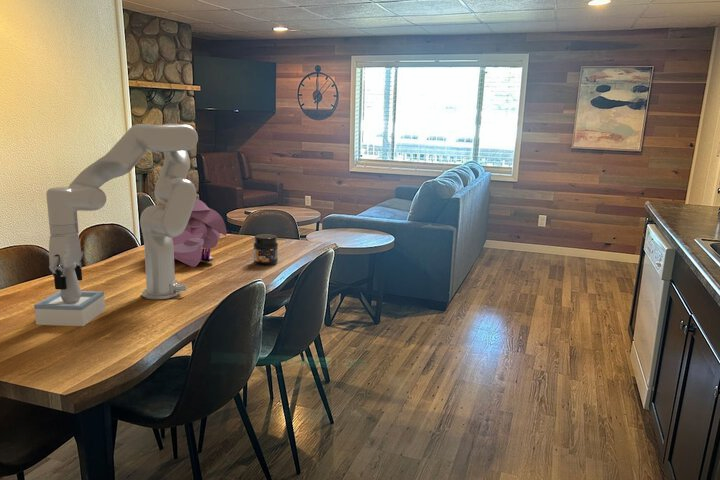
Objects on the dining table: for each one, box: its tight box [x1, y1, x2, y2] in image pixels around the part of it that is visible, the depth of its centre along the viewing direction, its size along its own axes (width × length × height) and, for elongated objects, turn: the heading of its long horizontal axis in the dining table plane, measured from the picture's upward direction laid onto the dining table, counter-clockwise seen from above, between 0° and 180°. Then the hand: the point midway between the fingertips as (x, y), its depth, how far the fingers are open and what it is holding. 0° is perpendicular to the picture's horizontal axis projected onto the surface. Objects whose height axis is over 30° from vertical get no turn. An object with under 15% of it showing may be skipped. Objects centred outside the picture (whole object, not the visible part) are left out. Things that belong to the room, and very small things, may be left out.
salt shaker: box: [59, 262, 82, 304], centre depth 163 cm, size 6×6×13 cm
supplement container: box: [252, 233, 279, 266], centre depth 233 cm, size 10×10×12 cm
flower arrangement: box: [172, 198, 227, 268], centre depth 232 cm, size 35×24×28 cm
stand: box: [33, 289, 106, 327], centre depth 165 cm, size 14×14×6 cm
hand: (69, 284), depth 163 cm, fingers open, 8 cm apart
